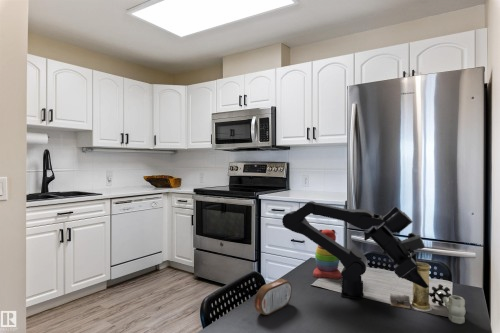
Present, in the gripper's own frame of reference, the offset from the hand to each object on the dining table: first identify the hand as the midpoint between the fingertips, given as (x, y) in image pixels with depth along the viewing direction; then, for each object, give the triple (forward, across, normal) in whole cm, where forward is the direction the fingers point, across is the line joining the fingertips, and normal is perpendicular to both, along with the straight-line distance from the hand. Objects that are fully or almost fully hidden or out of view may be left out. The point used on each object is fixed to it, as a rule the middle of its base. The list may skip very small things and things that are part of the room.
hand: (426, 282), depth 97 cm
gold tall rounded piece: (+4, 0, +6) cm, 8 cm away
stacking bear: (-18, +16, +30) cm, 38 cm away
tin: (-24, -22, +35) cm, 48 cm away
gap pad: (+5, 0, +7) cm, 8 cm away
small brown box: (0, -1, +11) cm, 11 cm away
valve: (+10, -1, +2) cm, 10 cm away
